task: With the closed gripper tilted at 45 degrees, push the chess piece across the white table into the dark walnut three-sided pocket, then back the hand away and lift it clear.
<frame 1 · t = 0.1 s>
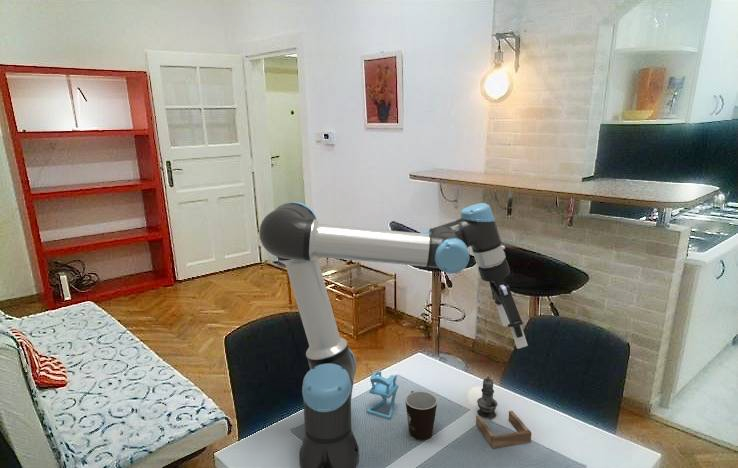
hand: (514, 335, 120), 28 cm above the table, tool tilted 20°, fingers open, 13 cm apart
coffee mug: (421, 429, 126), on the table
pocket: (501, 432, 124), on the table
chair: (384, 409, 135), on the table
chess piece: (486, 414, 133), on the table
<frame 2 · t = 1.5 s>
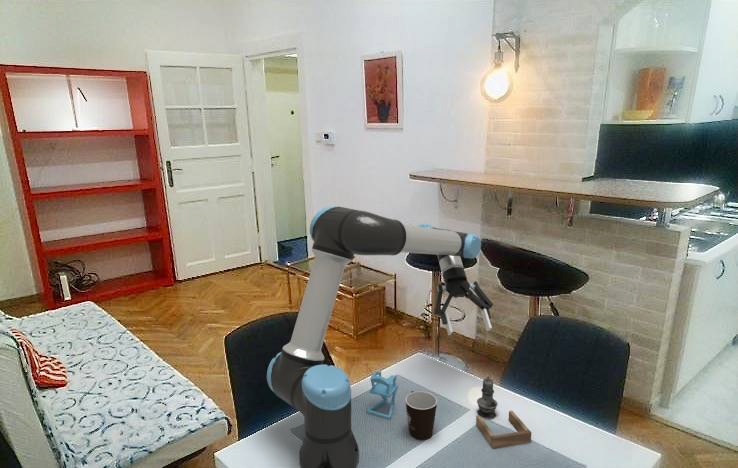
hand: (470, 331, 141), 20 cm above the table, tool tilted 45°, fingers open, 12 cm apart
nothing on the table moved.
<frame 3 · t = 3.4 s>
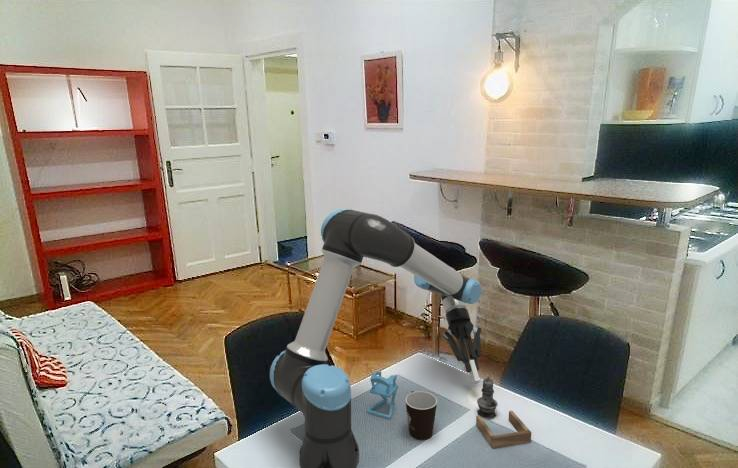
hand: (476, 381, 139), 5 cm above the table, tool tilted 45°, fingers closed
nothing on the table moved.
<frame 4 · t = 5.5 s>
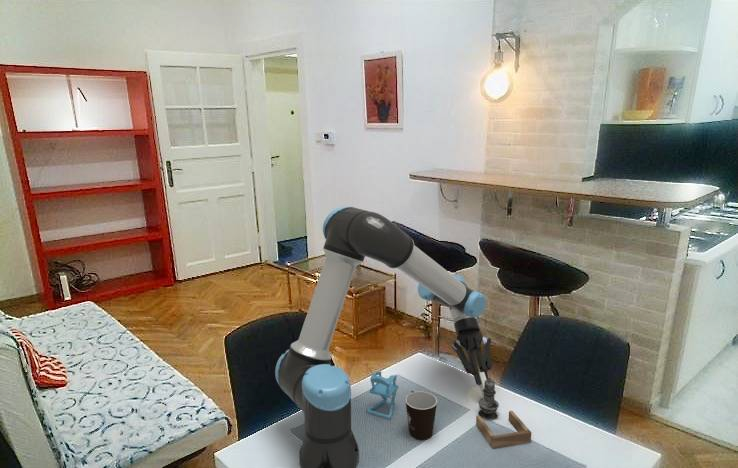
hand: (486, 395, 134), 4 cm above the table, tool tilted 45°, fingers closed
chess piece: (487, 414, 132), on the table, touching gripper
everything else where it was.
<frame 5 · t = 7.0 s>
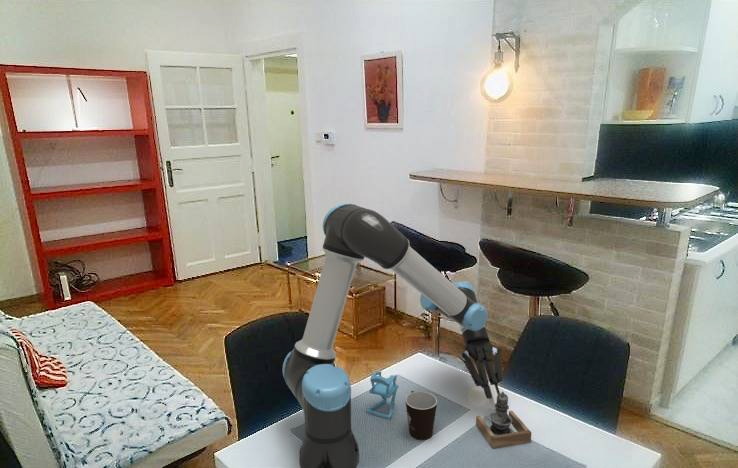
hand: (497, 409, 126), 5 cm above the table, tool tilted 45°, fingers closed
chess piece: (500, 430, 125), on the table, touching gripper
everything else where it was.
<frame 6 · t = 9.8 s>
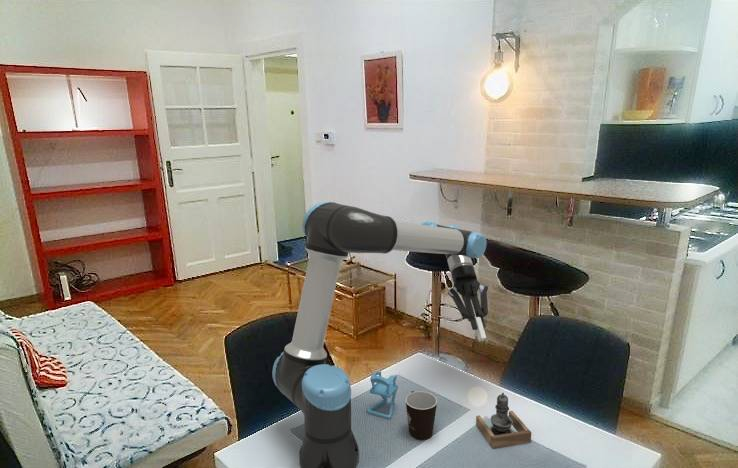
hand: (482, 339, 133), 21 cm above the table, tool tilted 45°, fingers closed
chess piece: (500, 432, 124), on the table
everything else where it was.
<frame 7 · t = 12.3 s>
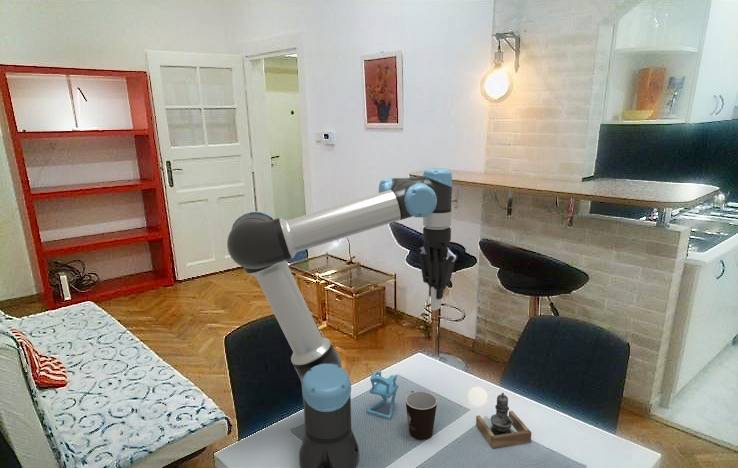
hand: (435, 308, 127), 32 cm above the table, tool pointing down, fingers closed
nothing on the table moved.
at the end: chess piece 0.4 cm from the pocket (horizontally); chess piece tilted 0° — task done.
